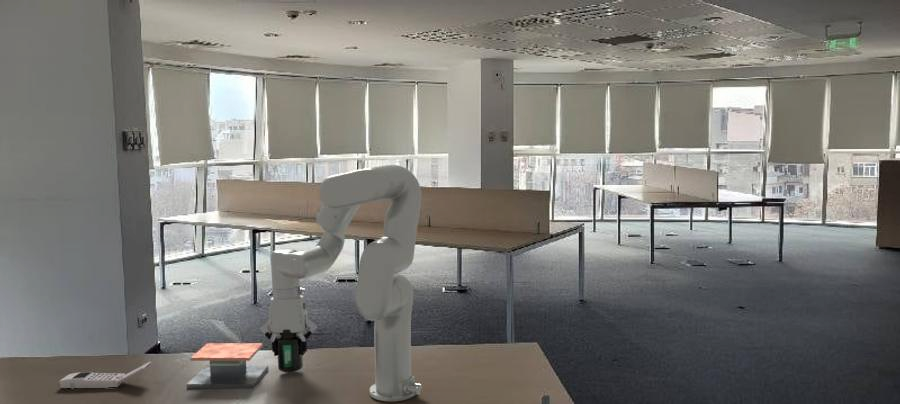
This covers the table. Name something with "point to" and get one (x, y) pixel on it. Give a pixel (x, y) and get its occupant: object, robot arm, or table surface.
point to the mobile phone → (97, 379)
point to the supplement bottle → (289, 352)
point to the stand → (227, 366)
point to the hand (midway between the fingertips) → (290, 353)
